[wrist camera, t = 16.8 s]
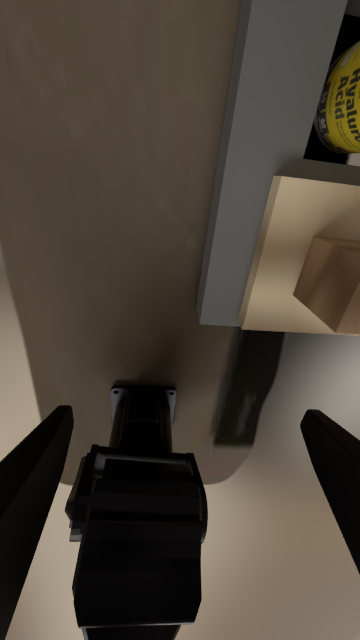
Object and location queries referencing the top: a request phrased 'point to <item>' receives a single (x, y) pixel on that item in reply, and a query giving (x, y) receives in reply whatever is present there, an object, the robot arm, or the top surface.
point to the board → (266, 135)
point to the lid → (306, 260)
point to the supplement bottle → (341, 104)
